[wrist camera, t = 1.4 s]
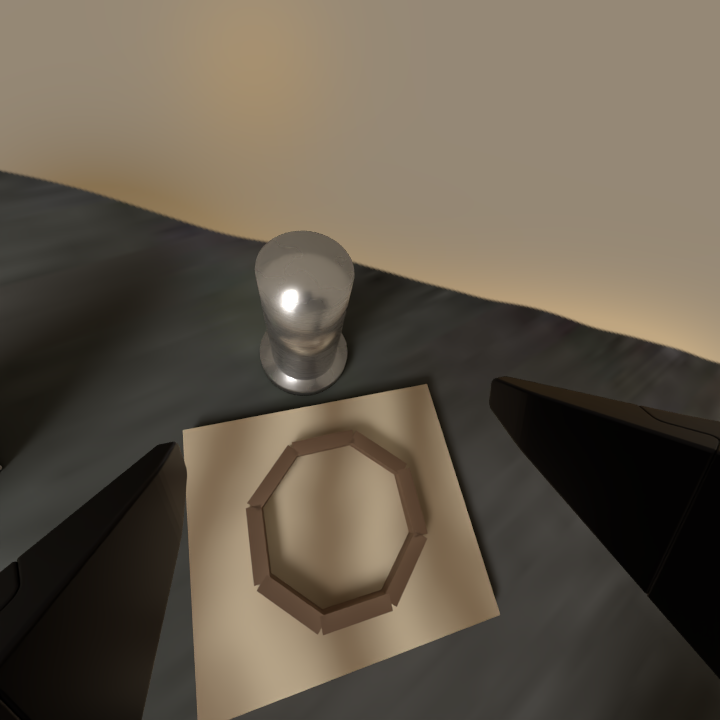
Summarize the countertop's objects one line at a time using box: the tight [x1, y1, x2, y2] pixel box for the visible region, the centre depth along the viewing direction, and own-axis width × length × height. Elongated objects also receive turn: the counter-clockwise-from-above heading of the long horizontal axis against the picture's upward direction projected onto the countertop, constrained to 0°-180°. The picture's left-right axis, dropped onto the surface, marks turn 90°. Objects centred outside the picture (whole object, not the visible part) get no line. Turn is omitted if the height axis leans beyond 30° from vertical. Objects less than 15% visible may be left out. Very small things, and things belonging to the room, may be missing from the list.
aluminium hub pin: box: [255, 231, 354, 396], centre depth 20 cm, size 6×6×10 cm
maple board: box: [183, 384, 500, 720], centre depth 19 cm, size 16×14×2 cm
